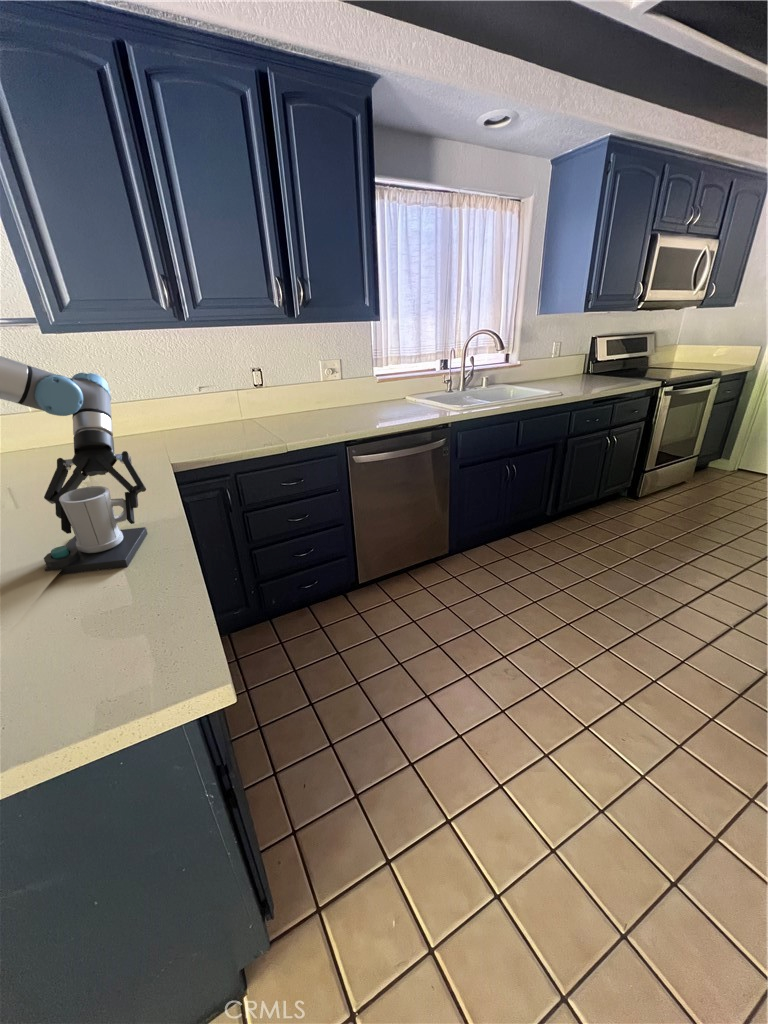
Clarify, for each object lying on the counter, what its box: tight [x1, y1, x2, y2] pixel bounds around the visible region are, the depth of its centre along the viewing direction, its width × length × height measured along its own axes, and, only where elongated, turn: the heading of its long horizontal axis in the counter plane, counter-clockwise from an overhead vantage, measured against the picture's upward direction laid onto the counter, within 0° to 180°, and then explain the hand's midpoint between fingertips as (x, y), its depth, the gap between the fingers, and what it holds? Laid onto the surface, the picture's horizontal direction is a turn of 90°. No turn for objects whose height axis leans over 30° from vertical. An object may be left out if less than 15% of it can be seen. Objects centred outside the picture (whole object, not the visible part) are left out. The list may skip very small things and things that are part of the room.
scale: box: [43, 526, 149, 576], centre depth 93 cm, size 15×15×4 cm
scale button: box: [50, 545, 69, 559], centre depth 87 cm, size 3×3×2 cm
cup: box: [59, 485, 127, 553], centre depth 92 cm, size 10×9×12 cm
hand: (99, 526), depth 90 cm, fingers closed on cup, 11 cm apart
